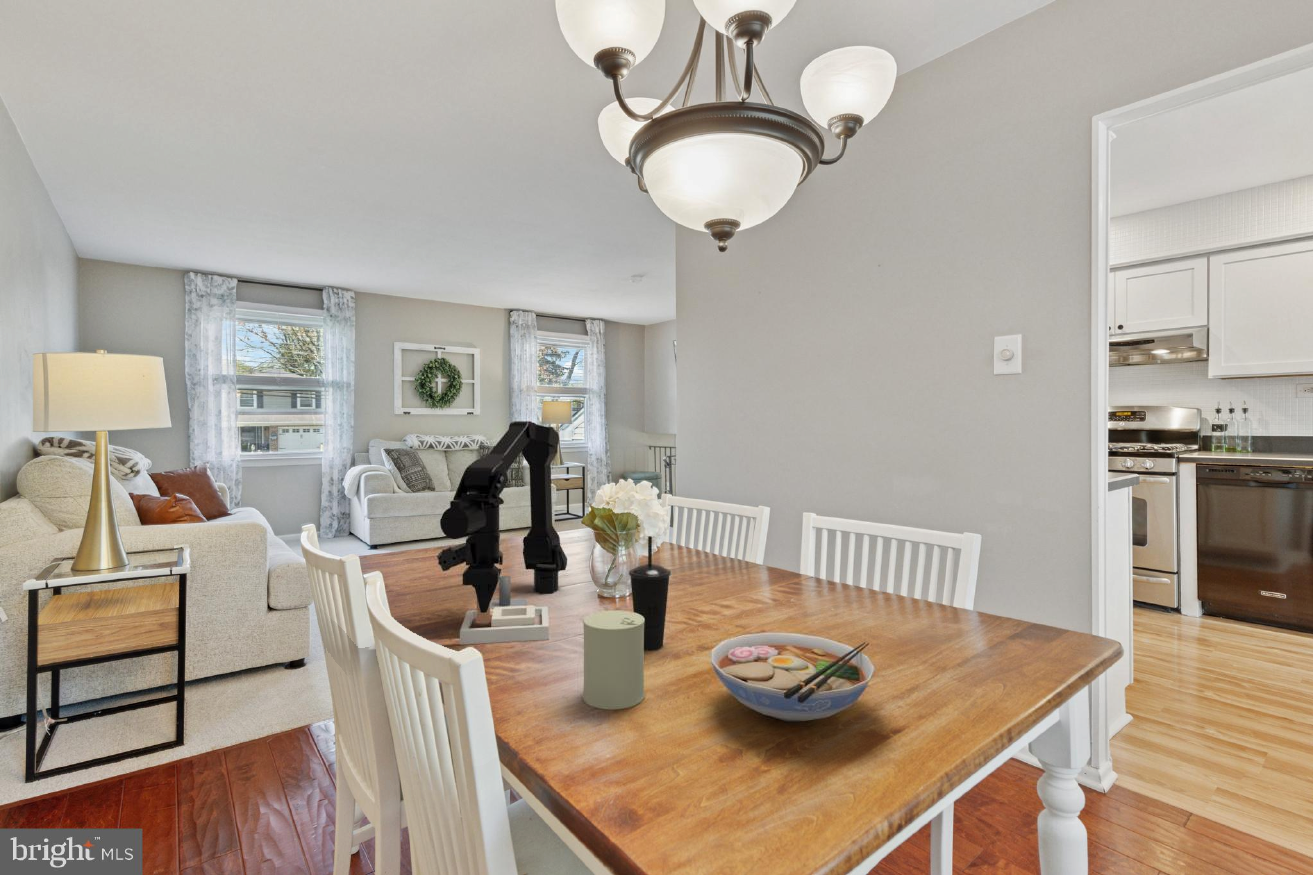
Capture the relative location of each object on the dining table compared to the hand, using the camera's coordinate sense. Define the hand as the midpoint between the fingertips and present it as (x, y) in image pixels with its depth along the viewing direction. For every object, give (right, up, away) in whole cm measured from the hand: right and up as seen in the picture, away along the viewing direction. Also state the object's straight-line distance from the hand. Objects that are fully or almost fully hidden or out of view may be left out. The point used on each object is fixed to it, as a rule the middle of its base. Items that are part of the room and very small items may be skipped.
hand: (484, 610), depth 122 cm
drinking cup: (+32, -5, -7) cm, 33 cm away
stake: (+1, -4, +14) cm, 15 cm away
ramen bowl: (+52, -5, -33) cm, 62 cm away
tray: (+4, -4, +1) cm, 6 cm away
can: (+27, -5, -28) cm, 39 cm away
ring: (+4, -2, +1) cm, 5 cm away
